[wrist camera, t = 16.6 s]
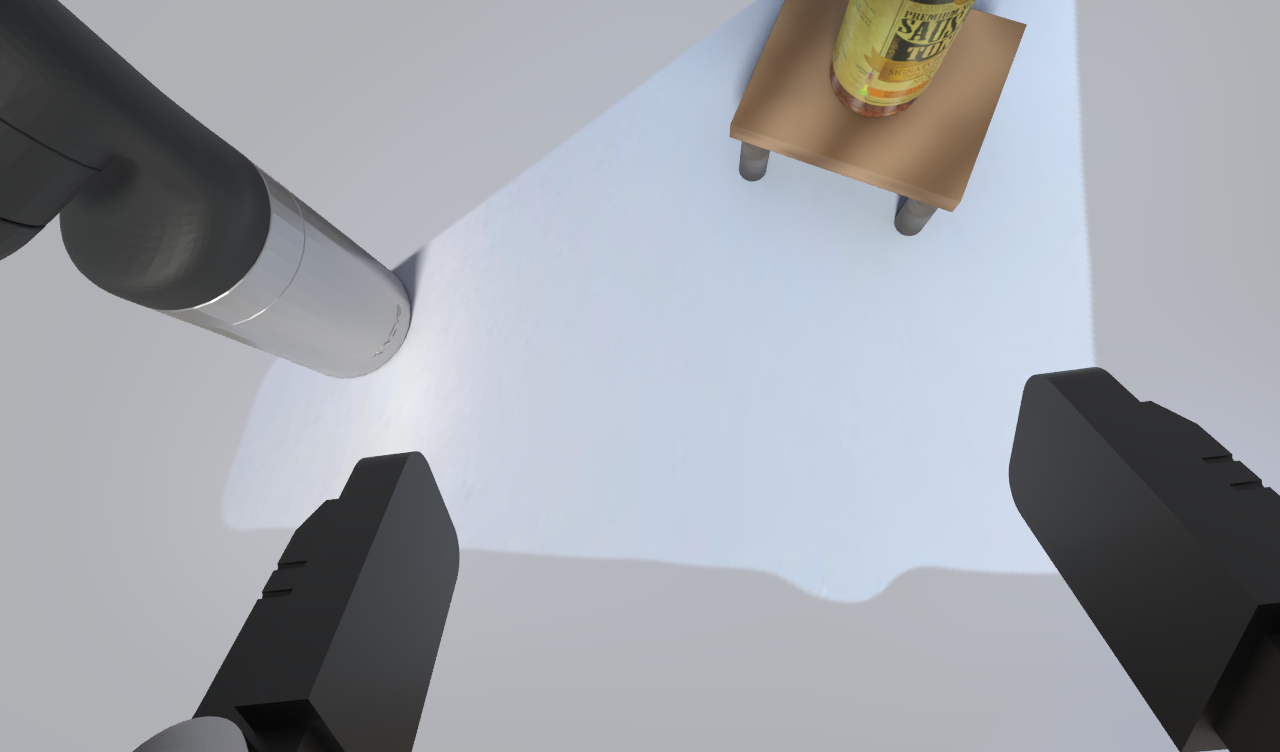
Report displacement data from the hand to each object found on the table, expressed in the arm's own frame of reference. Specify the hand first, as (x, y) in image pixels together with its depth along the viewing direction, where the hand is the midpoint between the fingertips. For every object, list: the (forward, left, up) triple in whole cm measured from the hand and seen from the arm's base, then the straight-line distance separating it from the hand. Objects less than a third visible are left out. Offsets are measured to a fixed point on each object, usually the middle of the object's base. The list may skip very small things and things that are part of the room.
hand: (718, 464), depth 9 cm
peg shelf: (0, +29, -39) cm, 49 cm away
